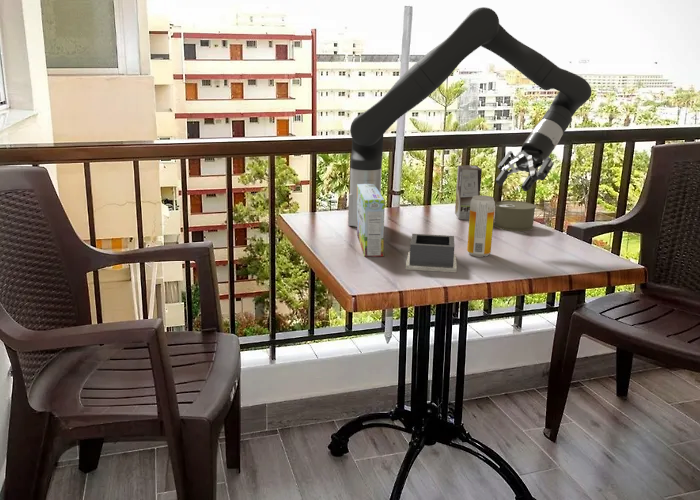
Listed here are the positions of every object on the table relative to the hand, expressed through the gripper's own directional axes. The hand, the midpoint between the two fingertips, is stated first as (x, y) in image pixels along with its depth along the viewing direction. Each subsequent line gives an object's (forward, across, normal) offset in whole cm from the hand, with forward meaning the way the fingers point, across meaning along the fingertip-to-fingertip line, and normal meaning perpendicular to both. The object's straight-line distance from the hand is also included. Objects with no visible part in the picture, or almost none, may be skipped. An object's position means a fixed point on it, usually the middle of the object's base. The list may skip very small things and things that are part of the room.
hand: (510, 186), depth 173 cm
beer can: (+19, 0, +4) cm, 20 cm away
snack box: (+33, -22, -9) cm, 41 cm away
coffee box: (-1, -32, +25) cm, 40 cm away
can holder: (+31, -1, -7) cm, 32 cm away
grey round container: (-3, -15, +27) cm, 31 cm away
